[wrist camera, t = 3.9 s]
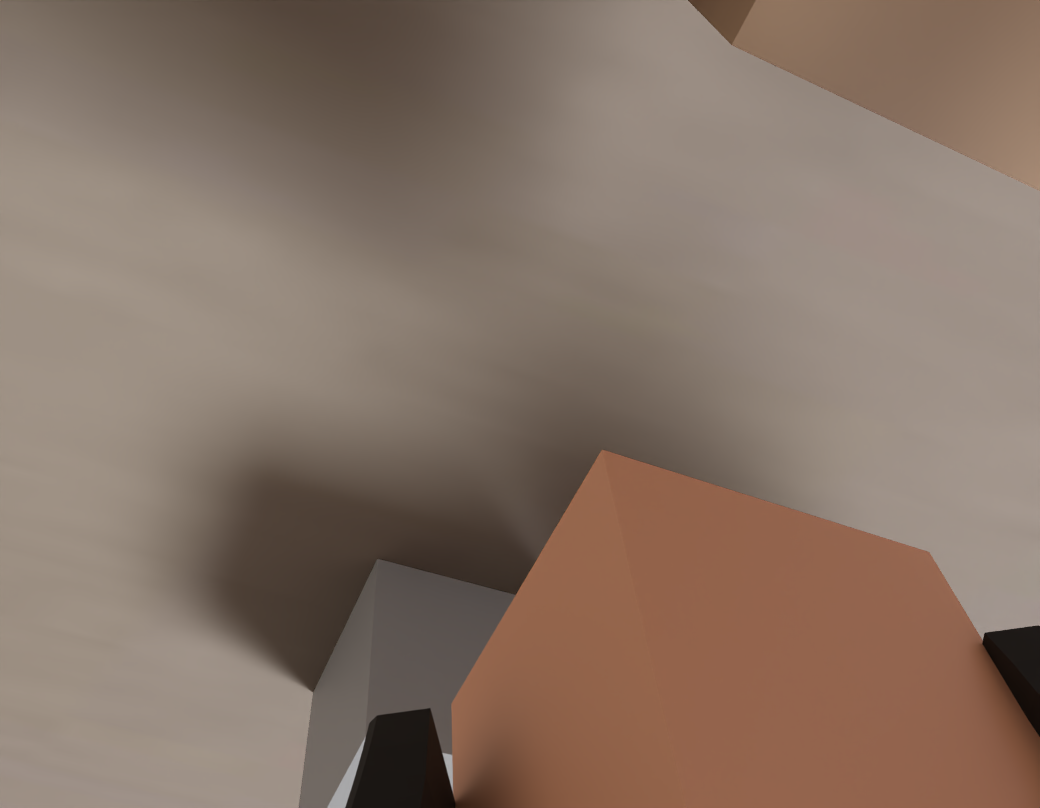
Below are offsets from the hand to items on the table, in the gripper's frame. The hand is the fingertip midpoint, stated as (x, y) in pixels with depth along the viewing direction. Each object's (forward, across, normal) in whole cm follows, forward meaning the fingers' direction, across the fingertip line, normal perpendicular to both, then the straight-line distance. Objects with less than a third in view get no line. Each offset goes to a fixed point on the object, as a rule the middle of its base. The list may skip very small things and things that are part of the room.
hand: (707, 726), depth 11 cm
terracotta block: (+1, 0, 0) cm, 1 cm away
